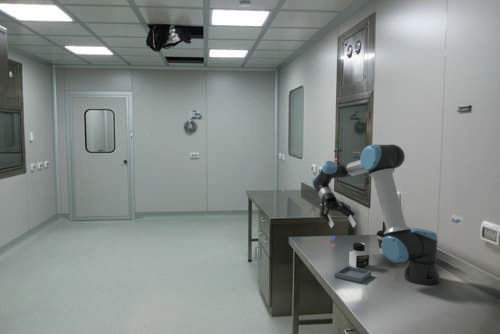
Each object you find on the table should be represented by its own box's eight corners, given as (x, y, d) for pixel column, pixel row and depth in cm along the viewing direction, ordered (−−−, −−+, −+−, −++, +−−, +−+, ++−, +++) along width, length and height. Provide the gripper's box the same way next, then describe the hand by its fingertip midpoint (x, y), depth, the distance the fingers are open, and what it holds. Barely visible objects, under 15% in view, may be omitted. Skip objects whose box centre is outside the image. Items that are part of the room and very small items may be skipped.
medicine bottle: (356, 269, 202) (356, 245, 201) (348, 264, 209) (349, 241, 208) (368, 268, 204) (369, 244, 203) (361, 263, 211) (362, 240, 210)
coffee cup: (392, 250, 234) (393, 230, 233) (399, 256, 223) (400, 234, 222) (373, 250, 234) (374, 229, 233) (379, 256, 223) (379, 234, 222)
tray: (371, 276, 192) (371, 270, 192) (360, 283, 182) (360, 278, 182) (346, 270, 200) (346, 265, 200) (334, 277, 190) (334, 272, 190)
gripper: (343, 202, 232) (360, 230, 216) (305, 201, 222) (320, 231, 207) (349, 192, 227) (367, 220, 212) (310, 191, 218) (325, 221, 203)
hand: (343, 226), depth 209 cm, fingers open, 13 cm apart
